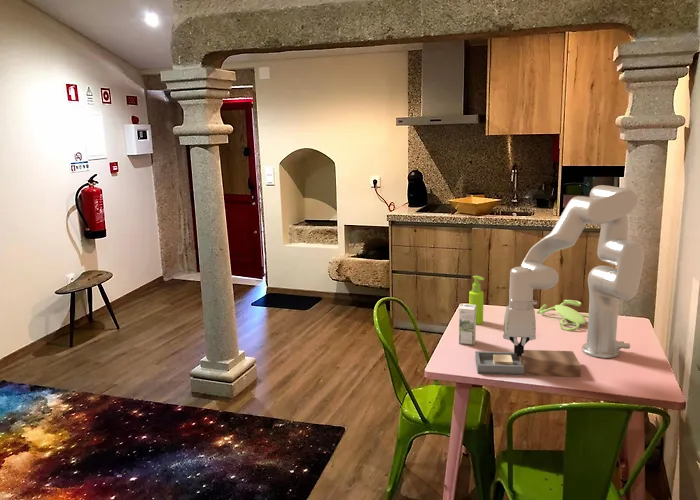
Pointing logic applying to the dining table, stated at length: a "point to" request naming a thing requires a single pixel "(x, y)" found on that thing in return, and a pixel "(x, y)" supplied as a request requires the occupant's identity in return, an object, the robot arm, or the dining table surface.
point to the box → (487, 366)
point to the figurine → (567, 314)
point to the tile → (502, 360)
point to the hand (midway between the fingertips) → (518, 355)
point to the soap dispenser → (477, 299)
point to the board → (550, 363)
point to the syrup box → (467, 324)
